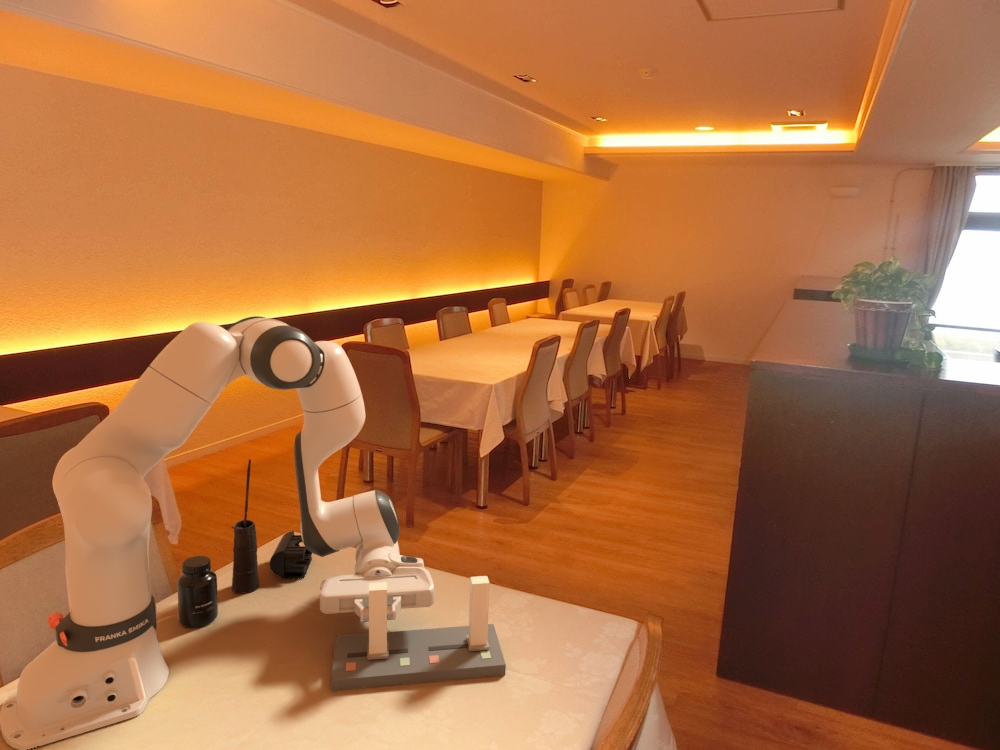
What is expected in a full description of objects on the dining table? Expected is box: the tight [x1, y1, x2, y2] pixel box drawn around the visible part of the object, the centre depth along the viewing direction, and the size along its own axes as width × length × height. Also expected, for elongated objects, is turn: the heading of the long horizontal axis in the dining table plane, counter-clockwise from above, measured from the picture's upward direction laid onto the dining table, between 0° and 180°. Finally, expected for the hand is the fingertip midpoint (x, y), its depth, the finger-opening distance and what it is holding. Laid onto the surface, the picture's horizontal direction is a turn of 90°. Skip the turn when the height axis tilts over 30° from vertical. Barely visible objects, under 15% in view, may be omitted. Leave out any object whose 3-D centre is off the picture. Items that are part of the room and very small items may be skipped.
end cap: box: [269, 530, 313, 580], centre depth 142 cm, size 10×7×7 cm
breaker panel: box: [330, 623, 507, 692], centre depth 113 cm, size 29×12×2 cm, turn 101°
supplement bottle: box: [176, 555, 219, 629], centre depth 122 cm, size 7×7×12 cm
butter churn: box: [231, 458, 259, 594], centre depth 130 cm, size 9×10×28 cm
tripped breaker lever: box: [367, 582, 389, 660], centre depth 110 cm, size 4×4×12 cm
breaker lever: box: [466, 575, 490, 651], centre depth 114 cm, size 4×4×12 cm
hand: (378, 617), depth 109 cm, fingers closed on tripped breaker lever, 3 cm apart
